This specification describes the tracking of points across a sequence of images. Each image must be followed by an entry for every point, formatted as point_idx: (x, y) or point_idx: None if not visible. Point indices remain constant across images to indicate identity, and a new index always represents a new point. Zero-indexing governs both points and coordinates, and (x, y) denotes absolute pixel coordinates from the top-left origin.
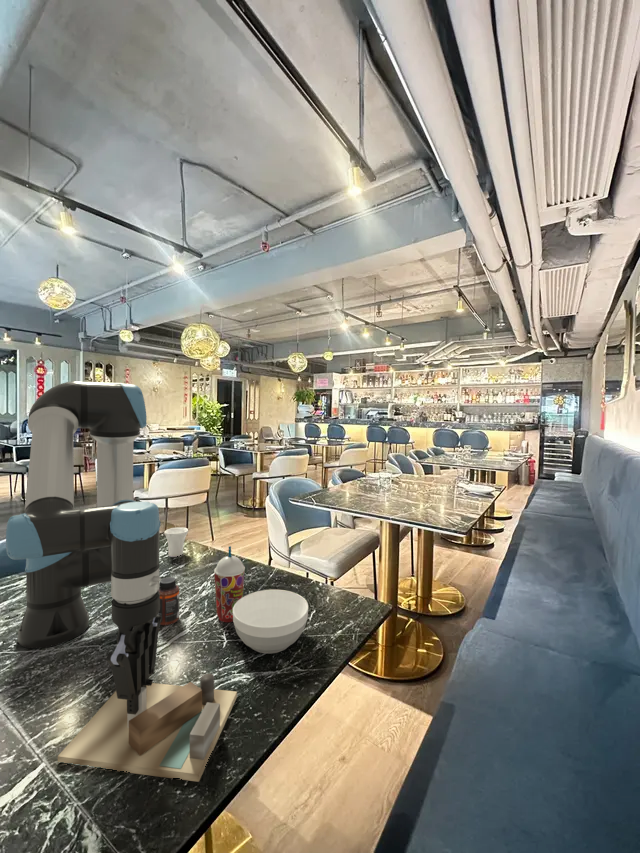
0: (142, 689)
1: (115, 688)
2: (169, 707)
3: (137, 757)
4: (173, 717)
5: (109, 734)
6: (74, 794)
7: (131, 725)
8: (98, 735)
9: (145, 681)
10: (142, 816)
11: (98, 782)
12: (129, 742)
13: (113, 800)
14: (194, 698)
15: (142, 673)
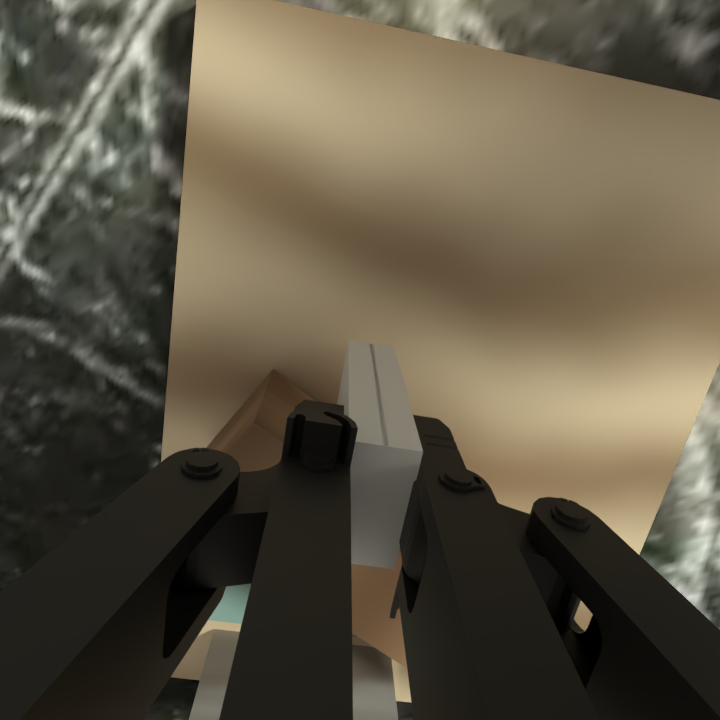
0: (368, 551)
1: (77, 529)
2: (363, 605)
3: (209, 431)
4: None
5: (348, 231)
6: (51, 201)
7: (232, 443)
8: (345, 168)
9: (399, 603)
10: (5, 514)
11: (120, 284)
12: (267, 378)
13: (48, 387)
14: None
15: (416, 643)
